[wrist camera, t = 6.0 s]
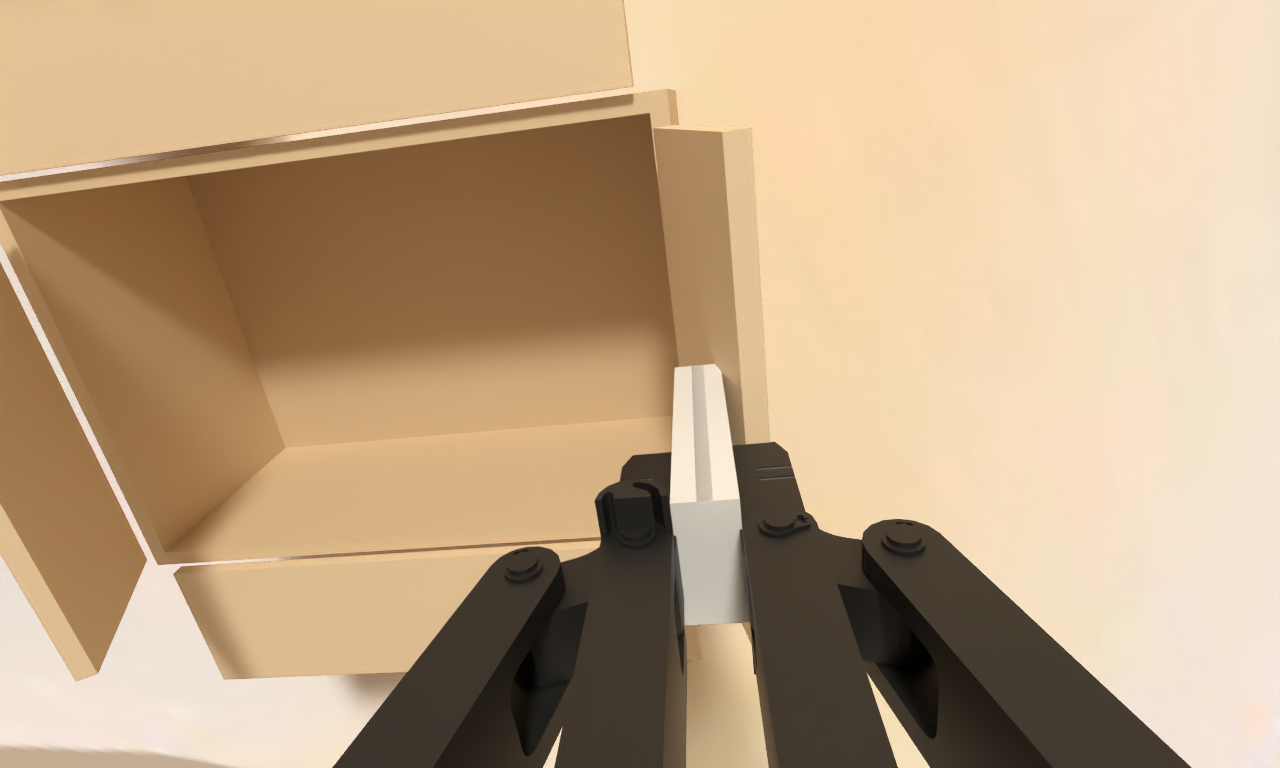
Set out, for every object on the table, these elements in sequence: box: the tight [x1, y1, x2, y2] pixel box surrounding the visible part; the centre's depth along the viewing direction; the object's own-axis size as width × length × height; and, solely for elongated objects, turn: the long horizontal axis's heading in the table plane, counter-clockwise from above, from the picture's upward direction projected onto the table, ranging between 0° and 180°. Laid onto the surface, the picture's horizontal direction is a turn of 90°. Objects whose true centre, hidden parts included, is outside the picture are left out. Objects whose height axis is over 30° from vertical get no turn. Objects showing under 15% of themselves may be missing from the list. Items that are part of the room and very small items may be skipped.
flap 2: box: [653, 125, 770, 644], centre depth 19 cm, size 1×14×7 cm, turn 8°
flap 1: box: [0, 263, 147, 681], centre depth 22 cm, size 1×14×7 cm, turn 9°
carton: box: [0, 0, 702, 679], centre depth 29 cm, size 24×28×10 cm
